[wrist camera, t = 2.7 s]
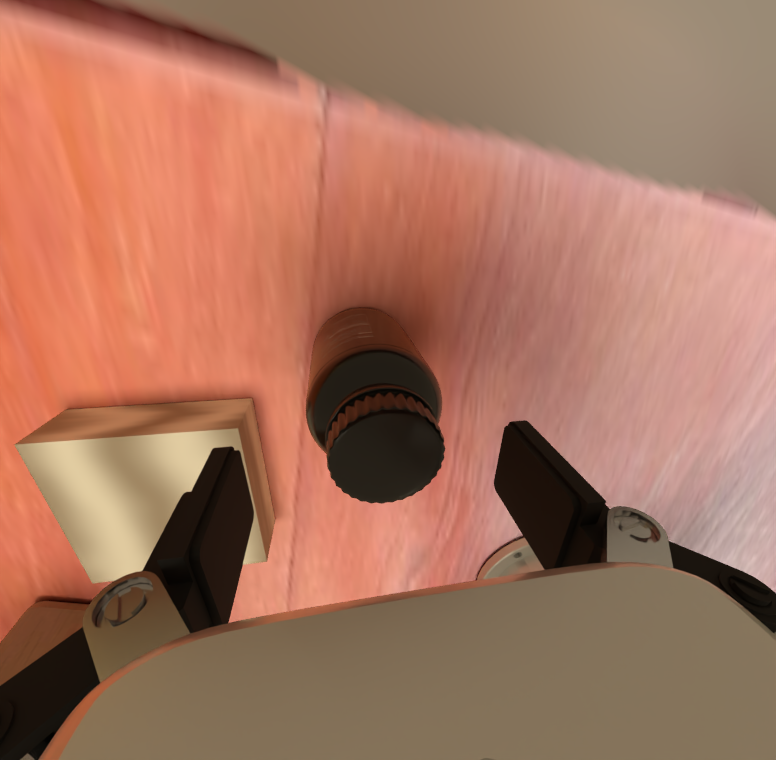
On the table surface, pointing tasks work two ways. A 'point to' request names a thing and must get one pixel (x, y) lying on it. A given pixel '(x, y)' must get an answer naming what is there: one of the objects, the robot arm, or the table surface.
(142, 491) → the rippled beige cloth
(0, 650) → the block
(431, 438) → the supplement bottle
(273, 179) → the table surface
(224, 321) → the table surface
